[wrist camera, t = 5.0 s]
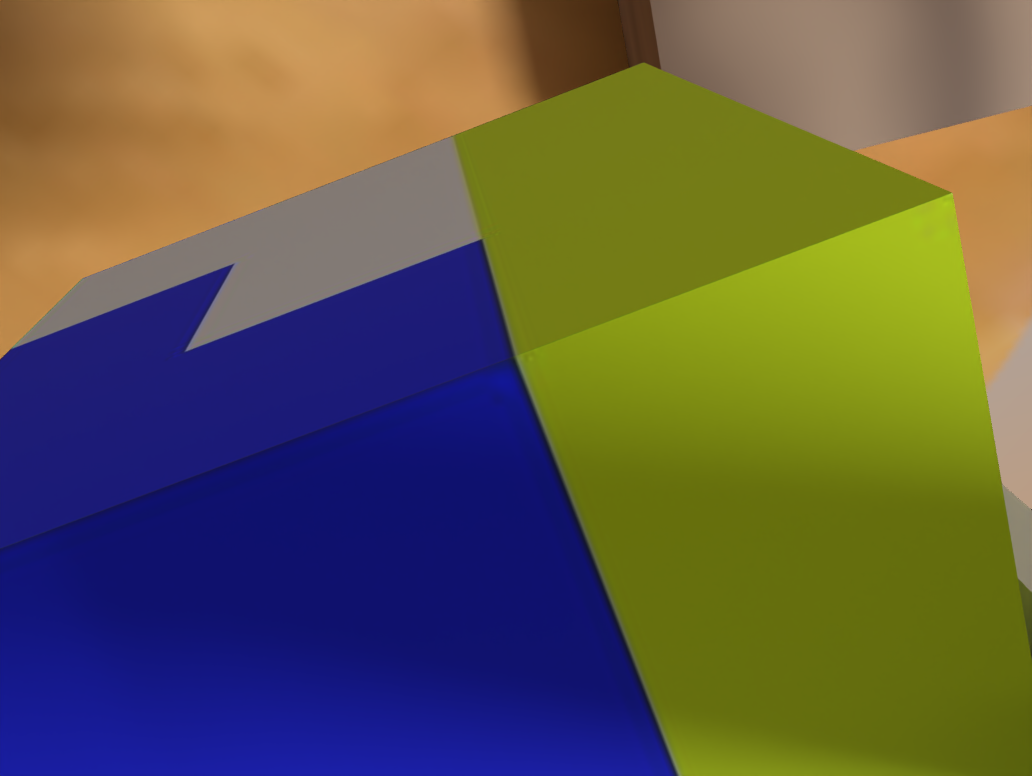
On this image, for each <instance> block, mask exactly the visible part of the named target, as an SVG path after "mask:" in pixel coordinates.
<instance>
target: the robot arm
mask: <svg viewBox="0 0 1032 776" xmlns="http://www.w3.org/2000/svg"><path fill="white" fill-rule="evenodd" d="M1002 488H1003V494H1004V500H1005V505H1006V511H1007V517H1008V523H1009V529H1010V535H1011V541H1012V547H1013V553H1014V558H1015V564H1016V570H1017V576H1018V582H1019V588H1020V594H1021V600H1022V605H1023V611H1024V617H1025V623H1026V629H1027V635H1028V641H1029V647H1030V652H1031V658H1032V509H1030V508H1029V507H1028V506H1027V505H1026V504H1024V503H1023V502H1022V501H1021V500H1020V499H1019V498H1017V497H1016V496H1015V495H1014V494H1013V493H1012V492H1010V491H1009V490H1008V489H1007V488H1006V487H1005V486H1004V485H1003V484H1002Z"/></svg>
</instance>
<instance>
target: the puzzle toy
mask: <svg viewBox="0 0 1032 776" xmlns="http://www.w3.org/2000/svg"><path fill="white" fill-rule="evenodd" d="M0 776H1032V658H1031V652H1030V647H1029V641H1028V635H1027V629H1026V623H1025V617H1024V611H1023V605H1022V600H1021V594H1020V588H1019V582H1018V576H1017V570H1016V564H1015V558H1014V553H1013V547H1012V541H1011V535H1010V529H1009V523H1008V517H1007V511H1006V505H1005V500H1004V494H1003V488H1002V482H1001V477H1000V470H999V464H998V459H997V453H996V447H995V441H994V435H993V429H992V423H991V417H990V412H989V406H988V400H987V394H986V388H985V382H984V376H983V370H982V364H981V358H980V353H979V347H978V341H977V335H976V329H975V323H974V317H973V311H972V306H971V300H970V294H969V288H968V282H967V276H966V270H965V264H964V259H963V253H962V247H961V241H960V235H959V229H958V223H957V217H956V211H955V206H954V200H953V194H952V193H951V192H949V191H947V190H944V189H942V188H940V187H937V186H935V185H932V184H930V183H928V182H925V181H923V180H921V179H918V178H916V177H914V176H911V175H909V174H906V173H904V172H902V171H899V170H897V169H895V168H892V167H890V166H887V165H885V164H883V163H880V162H878V161H876V160H873V159H871V158H869V157H866V156H864V155H861V154H859V153H857V152H854V151H852V150H850V149H847V148H845V147H843V146H840V145H838V144H835V143H833V142H831V141H828V140H826V139H824V138H821V137H819V136H817V135H814V134H812V133H809V132H807V131H805V130H802V129H800V128H798V127H795V126H793V125H790V124H788V123H786V122H783V121H781V120H779V119H776V118H774V117H772V116H769V115H767V114H764V113H762V112H760V111H757V110H755V109H753V108H750V107H748V106H746V105H743V104H741V103H738V102H736V101H734V100H731V99H729V98H727V97H724V96H722V95H720V94H717V93H715V92H712V91H710V90H708V89H705V88H703V87H701V86H698V85H696V84H693V83H691V82H689V81H686V80H684V79H682V78H679V77H677V76H675V75H672V74H670V73H667V72H665V71H663V70H660V69H658V68H656V67H653V66H651V65H649V64H646V63H644V62H643V63H640V64H638V65H635V66H633V67H630V68H627V69H625V70H622V71H620V72H617V73H614V74H612V75H609V76H607V77H604V78H601V79H599V80H596V81H594V82H591V83H589V84H586V85H583V86H581V87H578V88H576V89H573V90H570V91H568V92H565V93H563V94H560V95H557V96H555V97H552V98H550V99H547V100H544V101H542V102H539V103H537V104H534V105H531V106H529V107H526V108H524V109H521V110H518V111H516V112H513V113H511V114H508V115H505V116H503V117H500V118H498V119H495V120H493V121H490V122H487V123H485V124H482V125H480V126H477V127H474V128H472V129H469V130H467V131H464V132H461V133H459V134H456V135H454V136H451V137H448V138H446V139H443V140H441V141H438V142H435V143H433V144H430V145H428V146H425V147H422V148H420V149H417V150H415V151H412V152H410V153H407V154H404V155H402V156H399V157H397V158H394V159H391V160H389V161H386V162H384V163H381V164H378V165H376V166H373V167H371V168H368V169H365V170H363V171H360V172H358V173H355V174H352V175H350V176H347V177H345V178H342V179H339V180H337V181H334V182H332V183H329V184H327V185H324V186H321V187H319V188H316V189H314V190H311V191H308V192H306V193H303V194H301V195H298V196H295V197H293V198H290V199H288V200H285V201H282V202H280V203H277V204H275V205H272V206H269V207H267V208H264V209H262V210H259V211H256V212H254V213H251V214H249V215H246V216H244V217H241V218H238V219H236V220H233V221H231V222H228V223H225V224H223V225H220V226H218V227H215V228H212V229H210V230H207V231H205V232H202V233H199V234H197V235H194V236H192V237H189V238H186V239H184V240H181V241H179V242H176V243H173V244H171V245H168V246H166V247H163V248H161V249H158V250H155V251H153V252H150V253H148V254H145V255H142V256H140V257H137V258H135V259H132V260H129V261H127V262H124V263H122V264H119V265H116V266H114V267H111V268H109V269H106V270H103V271H101V272H98V273H96V274H93V275H90V276H88V277H85V278H83V279H82V280H80V281H79V282H78V283H77V284H76V285H75V286H74V287H73V288H72V289H71V290H70V291H69V292H68V293H67V294H66V295H65V296H64V297H63V298H62V299H61V300H60V301H59V302H58V303H57V304H56V305H55V306H54V307H53V308H52V309H51V310H50V311H49V312H48V313H47V314H46V315H45V316H44V317H43V318H42V319H41V320H40V321H39V322H38V323H37V324H36V325H35V326H34V327H33V328H32V329H31V330H30V331H29V332H28V333H27V334H26V335H25V336H24V337H23V338H22V339H21V340H20V341H18V342H17V343H16V344H15V345H14V346H13V347H12V348H11V349H10V350H9V351H8V352H7V353H6V354H5V355H4V356H3V357H2V358H1V359H0Z"/></svg>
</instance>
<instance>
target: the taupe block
mask: <svg viewBox="0 0 1032 776" xmlns="http://www.w3.org/2000/svg"><path fill="white" fill-rule="evenodd" d="M618 6H619V12H620V17H621V23H622V29H623V35H624V40H625V46H626V52H627V58H628V63H629V68H630V67H633V66H635V65H638V64H640V63H643V62H644V63H646V64H649V65H651V66H653V67H656V68H658V69H660V70H663V71H665V72H667V73H670V74H672V75H675V76H677V77H679V78H682V79H684V80H686V81H689V82H691V83H693V84H696V85H698V86H701V87H703V88H705V89H708V90H710V91H712V92H715V93H717V94H720V95H722V96H724V97H727V98H729V99H731V100H734V101H736V102H738V103H741V104H743V105H746V106H748V107H750V108H753V109H755V110H757V111H760V112H762V113H764V114H767V115H769V116H772V117H774V118H776V119H779V120H781V121H783V122H786V123H788V124H790V125H793V126H795V127H798V128H800V129H802V130H805V131H807V132H809V133H812V134H814V135H817V136H819V137H821V138H824V139H826V140H828V141H831V142H833V143H835V144H838V145H840V146H843V147H845V148H847V149H850V150H852V151H854V150H858V149H862V148H866V147H870V146H874V145H878V144H882V143H886V142H890V141H894V140H898V139H901V138H905V137H909V136H913V135H917V134H921V133H925V132H929V131H933V130H937V129H941V128H945V127H949V126H953V125H957V124H961V123H965V122H969V121H973V120H977V119H981V118H985V117H989V116H993V115H996V114H1000V113H1004V112H1008V111H1012V110H1016V109H1020V108H1024V107H1028V106H1032V0H618Z"/></svg>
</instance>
